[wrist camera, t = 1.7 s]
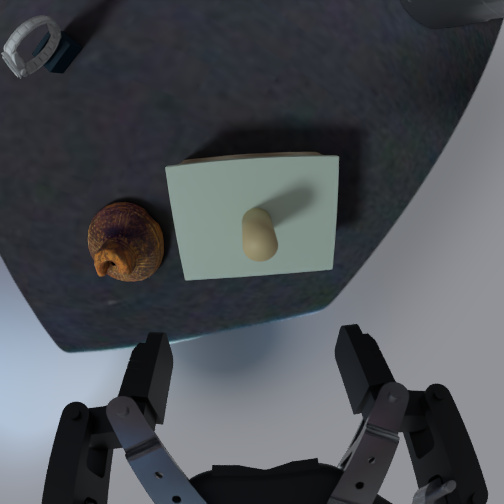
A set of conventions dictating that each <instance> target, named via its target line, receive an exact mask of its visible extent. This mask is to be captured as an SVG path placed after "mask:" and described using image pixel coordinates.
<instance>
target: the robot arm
mask: <svg viewBox="0 0 504 504" xmlns="http://www.w3.org/2000/svg"><path fill="white" fill-rule="evenodd" d="M400 1H401V3H402V5H403V6H404V8H405V9H406V10H407V12H408V13H409V14H410V15H411V16H412V17H413V18H414V19H415V20H417V21H418V22H419V23H421V24H422V25H424V26H426V27H429V28H432V29H440V28H444V27H447V28H451V27H456V26H461V25H466V24H472V23H478V22H485V21H489V19H495V18H504V0H400ZM335 359H336V362H337V365H338V368H339V371H340V374H341V377H342V379H343V383H344V386H345V389H346V392H347V395H348V398H349V401H350V404H351V407H352V410H353V414H359V413H362V416H363V419H362V421H361V423H360V425H359V428H358V429H357V432H356V434H355V436H354V438H353V440H352V442H351V444H350V446H349V448H348V450H347V451H346V453H345V455H344V456H343V458H342V459H341V461H340V463H339V464H338V466H337V467H335V466H332V465H328V464H323V463H318V458H314V459H308V460H301V461H292V462H290V463H287V464H284V465H281V466H277V467H274V468H271V469H267V470H262V469H257V468H250V467H245V466H240V465H212V470H210V471H206V472H203V473H201V474H198V475H196V476H194V477H192V478H191V479H190V480H189V479H188V478H187V477H186V475H185V474H184V472H183V471H182V470H181V469H180V467H179V466H178V465H177V464H176V462H175V461H174V459H173V458H172V457H171V455H170V454H169V452H168V451H167V450H166V448H165V447H164V445H163V444H162V443H161V441H160V440H159V438H158V436H157V435H156V433H155V432H154V431H155V425H156V424H163V422H164V416H165V409H166V403H167V397H168V391H169V386H170V380H171V374H172V369H173V355H172V351H171V348H170V345H169V341H168V338H167V335H166V333H157V332H150V333H149V334H148V337H147V340H146V343H139V344H138V345H137V346H136V347H135V348H134V350H133V351H132V354H131V357H130V361H129V363H128V366H127V369H126V372H125V375H124V378H123V382H122V385H121V388H120V391H119V394H118V397H116V398H114V399H112V400H111V401H110V402H109V403H108V405H107V406H103V407H96V408H87V407H86V405H85V404H83V403H81V402H72V403H70V404H68V405H67V406H66V407H65V408H64V410H63V412H62V415H61V418H60V422H59V425H58V429H57V432H56V436H55V440H54V444H53V448H52V452H51V456H50V460H49V465H48V469H47V474H46V480H45V485H44V491H43V497H42V504H107V500H108V489H109V479H110V471H111V463H112V456H113V449H115V448H123V449H124V450H125V453H126V454H125V456H126V459H127V461H128V462H129V464H130V466H131V468H132V469H133V471H134V472H135V474H136V476H137V478H138V479H139V481H140V482H141V484H142V485H143V487H144V489H145V490H146V492H147V493H148V495H149V496H150V498H151V499H152V500H153V502H154V503H155V504H392V503H390V502H389V501H387V500H386V499H384V498H383V497H381V496H379V495H378V494H377V493H378V491H379V489H380V487H381V485H382V483H383V480H384V478H385V476H386V474H387V471H388V469H389V467H390V464H391V462H392V459H393V456H394V454H395V451H396V448H397V446H398V443H399V437H398V432H403V434H404V437H405V440H406V444H407V447H408V450H409V454H410V457H411V461H412V465H413V468H414V472H415V475H416V480H417V484H418V487H419V490H417V492H416V493H415V495H414V497H413V503H412V504H486V502H487V499H488V491H487V487H486V484H485V480H484V478H483V474H482V471H481V468H480V465H479V462H478V459H477V456H476V454H475V451H474V448H473V445H472V443H471V440H470V437H469V435H468V432H467V430H466V428H465V425H464V423H463V420H462V418H461V416H460V413H459V411H458V409H457V407H456V404H455V402H454V400H453V398H452V396H451V394H450V392H449V390H448V389H447V388H446V387H445V386H443V385H441V384H432V385H430V386H429V387H428V388H427V389H426V391H410V390H407V389H406V388H405V387H404V386H403V385H402V384H400V383H397V382H396V381H395V380H394V378H393V375H392V373H391V371H390V369H389V368H388V365H387V363H386V361H385V359H384V357H383V355H382V353H381V351H380V350H379V347H378V345H377V343H376V341H375V340H374V339H373V338H372V337H371V336H370V335H369V334H362V331H361V329H360V327H359V326H358V325H357V324H353V325H345V326H341V328H340V331H339V335H338V339H337V343H336V346H335Z"/></svg>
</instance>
